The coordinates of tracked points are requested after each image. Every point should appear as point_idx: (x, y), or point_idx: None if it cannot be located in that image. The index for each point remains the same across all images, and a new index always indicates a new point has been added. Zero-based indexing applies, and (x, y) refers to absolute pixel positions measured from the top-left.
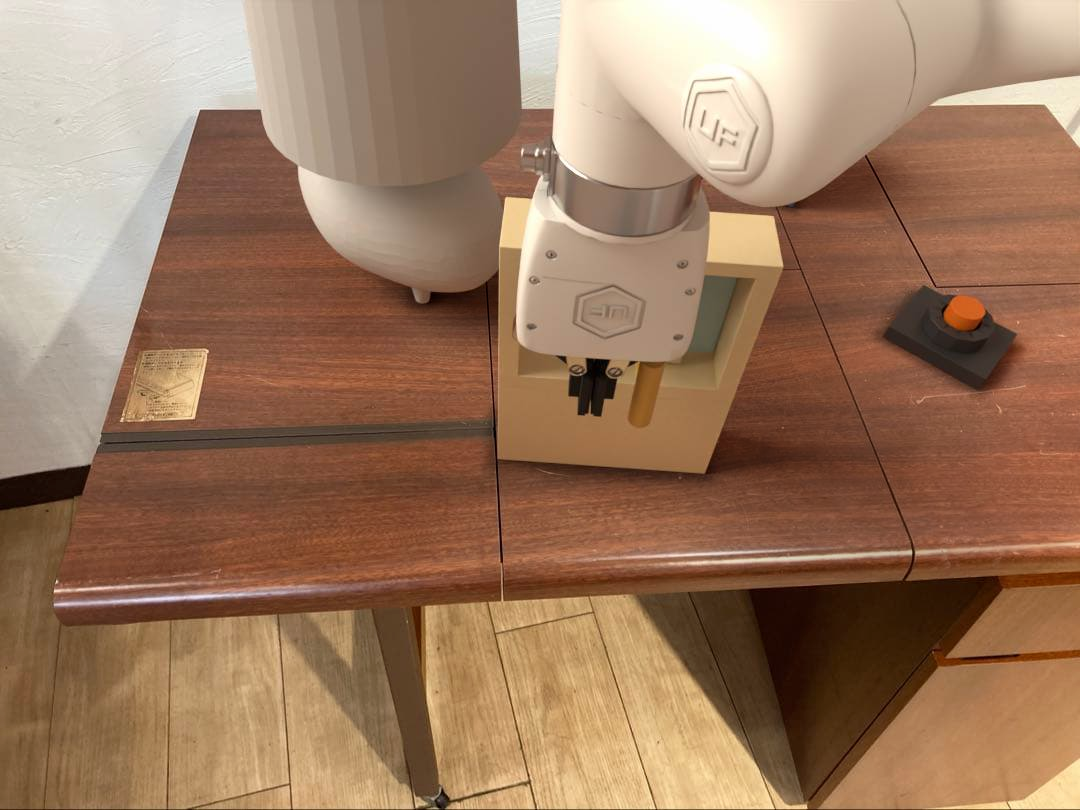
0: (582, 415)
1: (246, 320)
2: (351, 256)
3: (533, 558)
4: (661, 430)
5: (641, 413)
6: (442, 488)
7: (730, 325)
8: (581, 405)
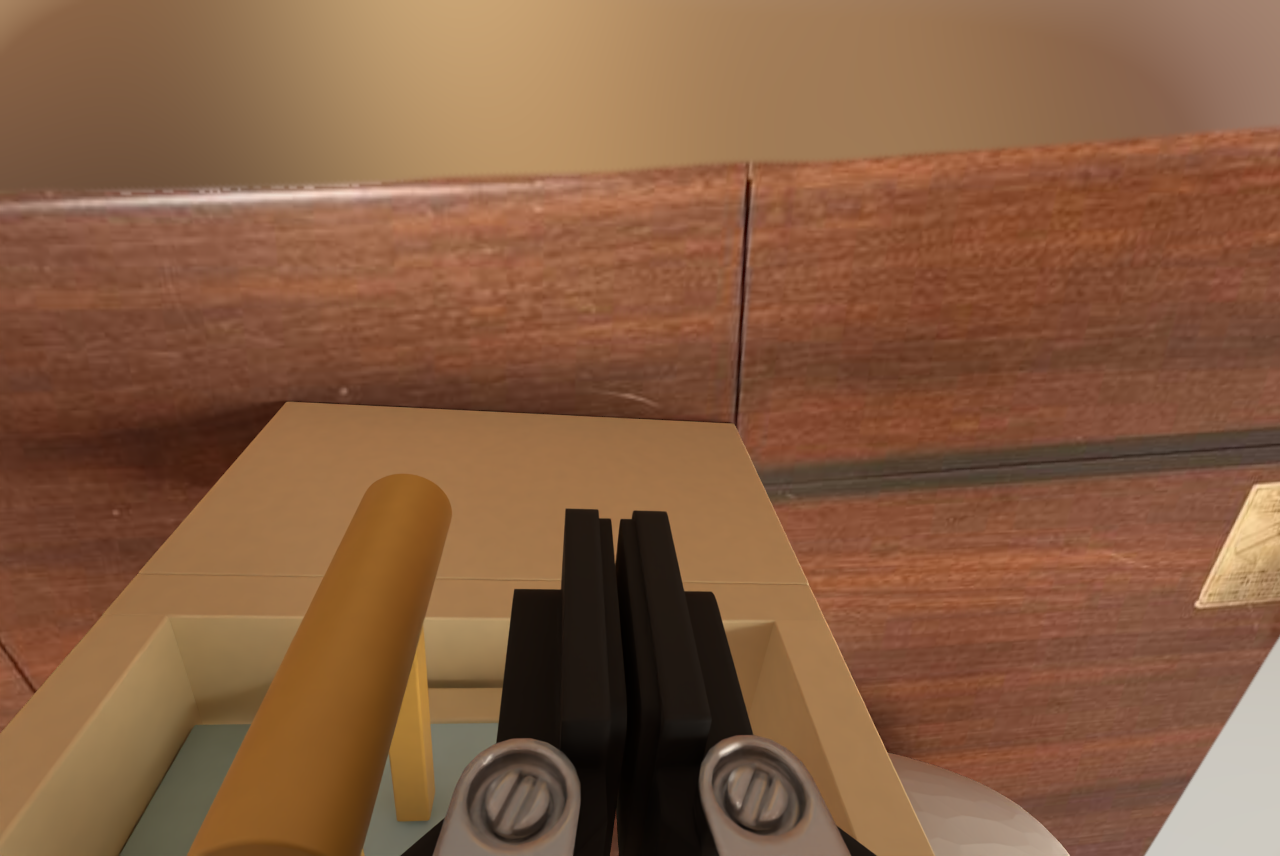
0: (644, 511)
1: (1122, 658)
2: (1021, 815)
3: (678, 189)
4: None
5: (387, 530)
6: (850, 357)
7: None
8: (665, 555)
